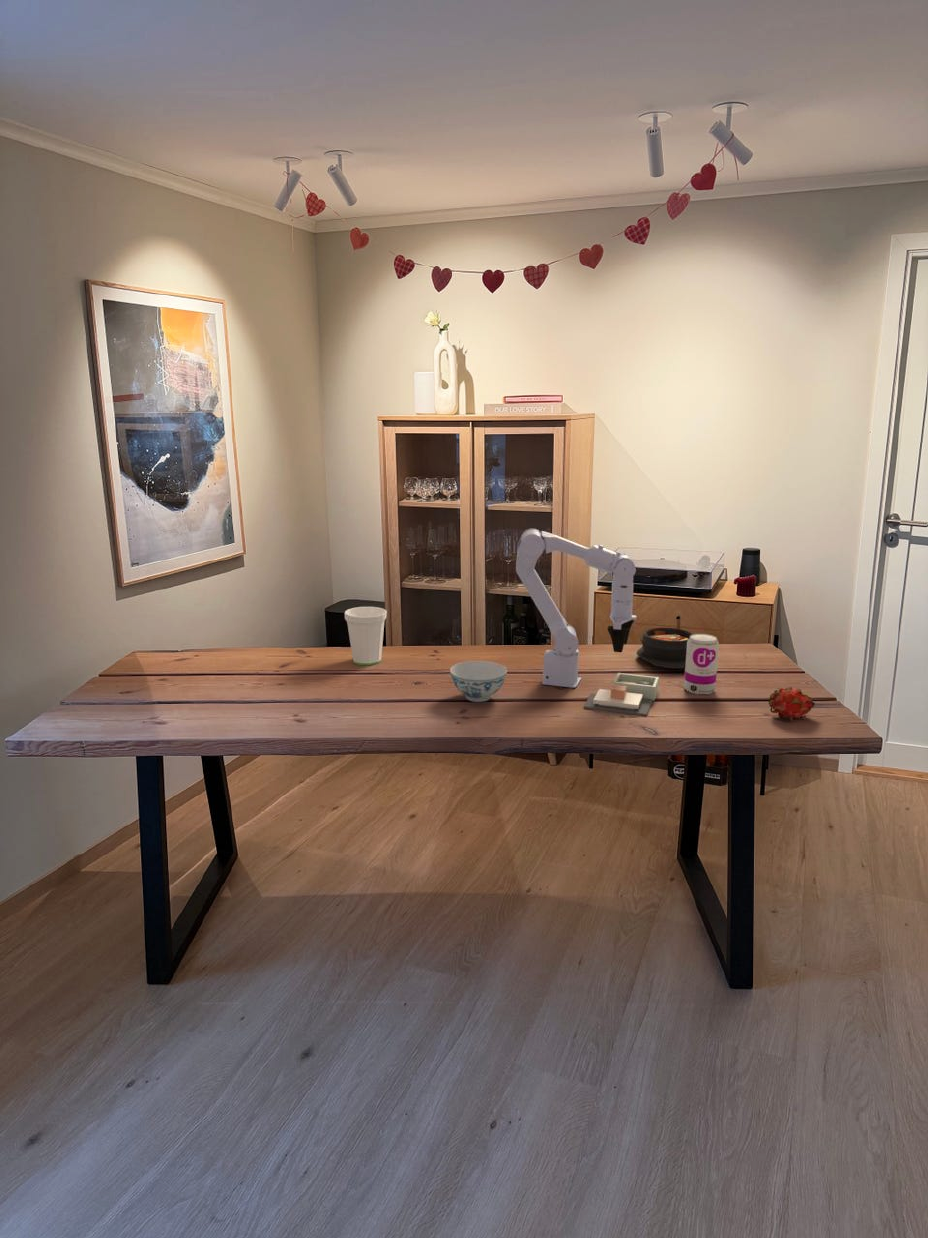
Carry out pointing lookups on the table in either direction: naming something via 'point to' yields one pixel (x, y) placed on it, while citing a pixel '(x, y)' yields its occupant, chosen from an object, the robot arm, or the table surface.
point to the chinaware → (478, 679)
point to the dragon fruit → (790, 703)
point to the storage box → (639, 684)
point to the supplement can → (701, 664)
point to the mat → (641, 710)
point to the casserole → (665, 647)
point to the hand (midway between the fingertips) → (620, 647)
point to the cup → (366, 633)
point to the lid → (618, 698)
